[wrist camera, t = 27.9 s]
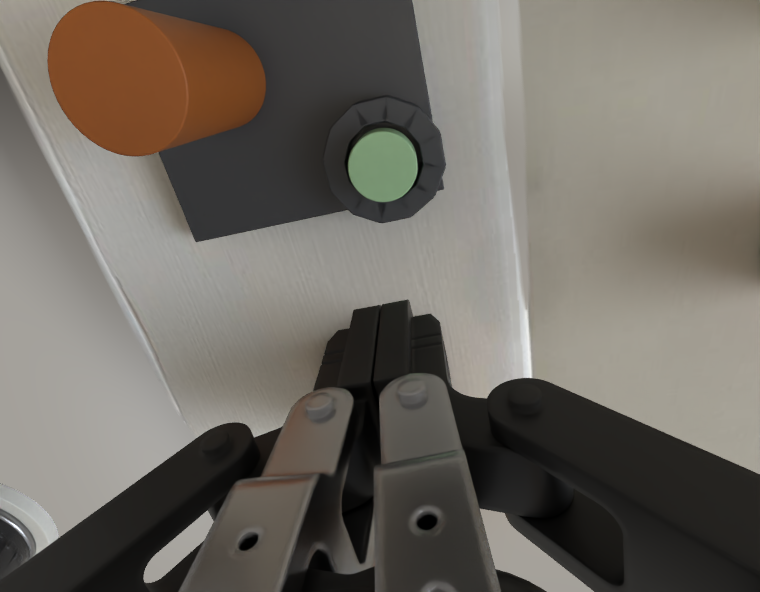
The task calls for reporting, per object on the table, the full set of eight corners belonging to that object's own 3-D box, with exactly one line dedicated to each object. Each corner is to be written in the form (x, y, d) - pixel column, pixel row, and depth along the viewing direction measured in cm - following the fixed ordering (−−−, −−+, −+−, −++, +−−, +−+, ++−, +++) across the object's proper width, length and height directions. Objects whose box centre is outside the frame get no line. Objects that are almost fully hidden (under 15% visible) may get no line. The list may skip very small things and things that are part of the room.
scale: (210, 244, 31) (188, 263, 28) (117, 15, 26) (77, 6, 23) (448, 194, 29) (453, 208, 26) (403, -71, 23) (403, -94, 20)
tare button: (360, 200, 26) (357, 208, 25) (344, 136, 25) (339, 140, 23) (422, 187, 26) (423, 194, 24) (409, 120, 24) (409, 123, 23)
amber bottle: (196, 137, 27) (89, 169, 18) (160, 41, 25) (18, 22, 16) (278, 117, 26) (209, 139, 17) (248, 16, 24) (151, -19, 15)
